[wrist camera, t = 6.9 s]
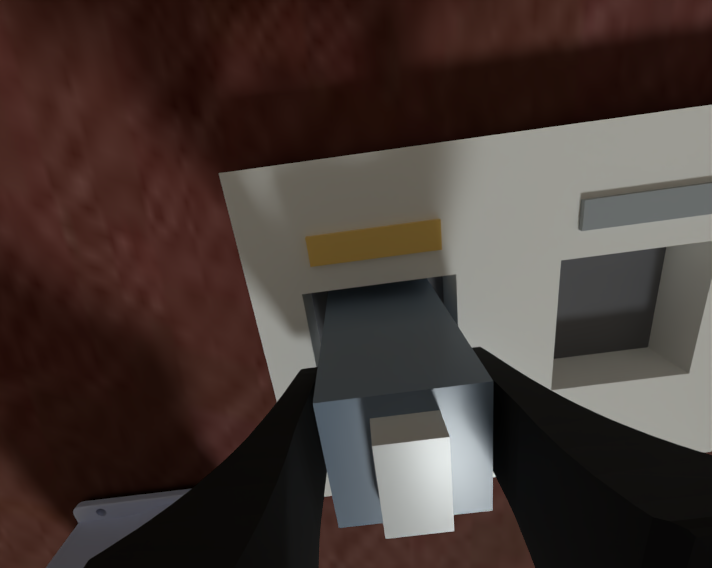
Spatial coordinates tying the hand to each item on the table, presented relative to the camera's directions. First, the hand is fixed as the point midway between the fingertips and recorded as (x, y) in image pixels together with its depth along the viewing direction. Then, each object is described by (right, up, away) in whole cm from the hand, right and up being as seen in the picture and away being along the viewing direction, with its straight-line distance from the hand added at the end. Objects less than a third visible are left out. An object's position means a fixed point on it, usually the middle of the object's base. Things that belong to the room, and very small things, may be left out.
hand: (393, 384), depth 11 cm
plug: (0, +1, +4) cm, 4 cm away
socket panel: (+4, +2, +4) cm, 6 cm away
